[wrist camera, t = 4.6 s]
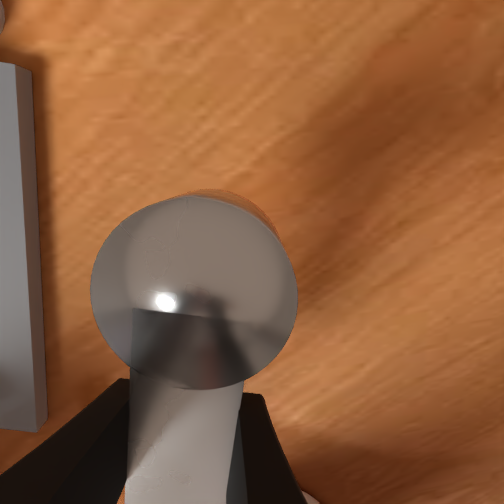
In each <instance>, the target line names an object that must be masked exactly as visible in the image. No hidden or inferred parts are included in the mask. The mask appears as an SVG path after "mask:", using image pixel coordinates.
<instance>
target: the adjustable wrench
mask: <svg viewBox="0 0 504 504" xmlns="http://www.w3.org/2000/svg"><path fill="white" fill-rule="evenodd" d="M4 23H5V13H4V8H3V4H2V1H1V0H0V34H1V33H2V31H3V27H4Z"/></svg>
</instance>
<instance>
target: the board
mask: <svg viewBox="0 0 504 504" xmlns="http://www.w3.org/2000/svg"><path fill="white" fill-rule="evenodd" d="M47 419H48V409H47V388H46V367H45V346H44V325H43V304H42V282H41V261H40V240H39V219H38V198H37V177H36V156H35V135H34V114H33V92H32V72H31V71H29V70H27V69H25V68H22V67H20V66H18V65H15V64H10V63H4V62H0V429H8V430H18V431H27V432H38V430H39V429H40V428H41V427H42V426H43V424H44V423H45V422H46V421H47Z"/></svg>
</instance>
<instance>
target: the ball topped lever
mask: <svg viewBox="0 0 504 504" xmlns="http://www.w3.org/2000/svg"><path fill="white" fill-rule="evenodd" d="M90 295H91V304H92V309H93V314H94V317H95V320H96V323H97V325H98V328H99V330H100V331H101V333H102V335H103V337H104V339H105V340H106V342H107V343H108V345H109V346H110V348H111V349H112V350H113V351H114V352H115V353H116V355H117V356H118V357H119V358H120V359H121V360H123V361H124V362H125V363H126V364H127V365H128V366H129V367H130V385H129V398H130V407H129V431H128V454H127V478H126V483H125V504H225V503H226V490H227V483H228V477H229V470H230V464H231V457H232V450H233V444H234V437H235V431H236V424H237V418H238V411H239V410H240V406H241V399H242V393H243V386H244V380H246V379H248V378H250V377H251V376H253V375H255V374H257V373H258V372H259V371H261V370H262V369H263V368H265V367H266V366H267V365H268V364H269V363H270V362H271V361H272V360H273V359H274V358H275V357H276V356H277V355H278V354H279V352H280V351H281V350H282V348H283V347H284V345H285V343H286V342H287V340H288V338H289V336H290V334H291V331H292V329H293V326H294V323H295V319H296V315H297V307H298V289H297V283H296V277H295V274H294V271H293V268H292V265H291V262H290V260H289V258H288V256H287V253H286V251H285V249H284V246H283V244H282V242H281V239H280V237H279V235H278V233H277V231H276V229H275V227H274V225H273V223H272V222H271V220H270V219H269V218H268V216H267V215H266V214H265V213H264V212H263V211H262V210H261V209H260V208H259V207H258V206H257V205H255V204H254V203H252V202H251V201H249V200H248V199H246V198H244V197H242V196H240V195H238V194H235V193H232V192H229V191H224V190H218V189H200V190H195V191H190V192H187V193H184V194H181V195H178V196H175V197H173V198H170V199H167V200H164V201H161V202H158V203H155V204H152V205H150V206H147V207H145V208H143V209H141V210H139V211H137V212H135V213H134V214H132V215H131V216H129V217H128V218H126V219H125V220H124V221H122V222H121V223H120V224H119V225H118V226H117V227H116V228H115V229H114V230H113V231H112V232H111V234H110V235H109V236H108V238H107V239H106V240H105V242H104V243H103V245H102V247H101V249H100V250H99V252H98V255H97V257H96V260H95V263H94V266H93V270H92V275H91V285H90Z"/></svg>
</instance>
